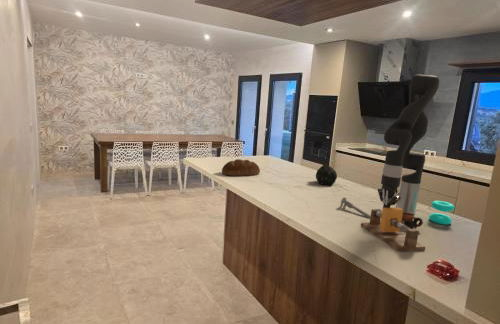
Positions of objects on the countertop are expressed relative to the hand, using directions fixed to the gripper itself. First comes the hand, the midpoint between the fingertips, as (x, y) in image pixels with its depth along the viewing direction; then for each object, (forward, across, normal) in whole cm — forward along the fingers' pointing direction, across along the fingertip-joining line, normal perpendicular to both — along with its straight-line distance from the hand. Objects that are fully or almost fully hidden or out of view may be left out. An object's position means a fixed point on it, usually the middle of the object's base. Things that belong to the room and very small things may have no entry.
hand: (385, 212), depth 140 cm
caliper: (+10, +25, -2) cm, 27 cm away
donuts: (+10, +10, -41) cm, 43 cm away
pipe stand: (+9, -5, 0) cm, 11 cm away
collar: (+7, -4, 0) cm, 8 cm away
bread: (+10, +109, +42) cm, 117 cm away
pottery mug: (+10, +4, -17) cm, 20 cm away
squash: (+10, +83, -14) cm, 85 cm away
